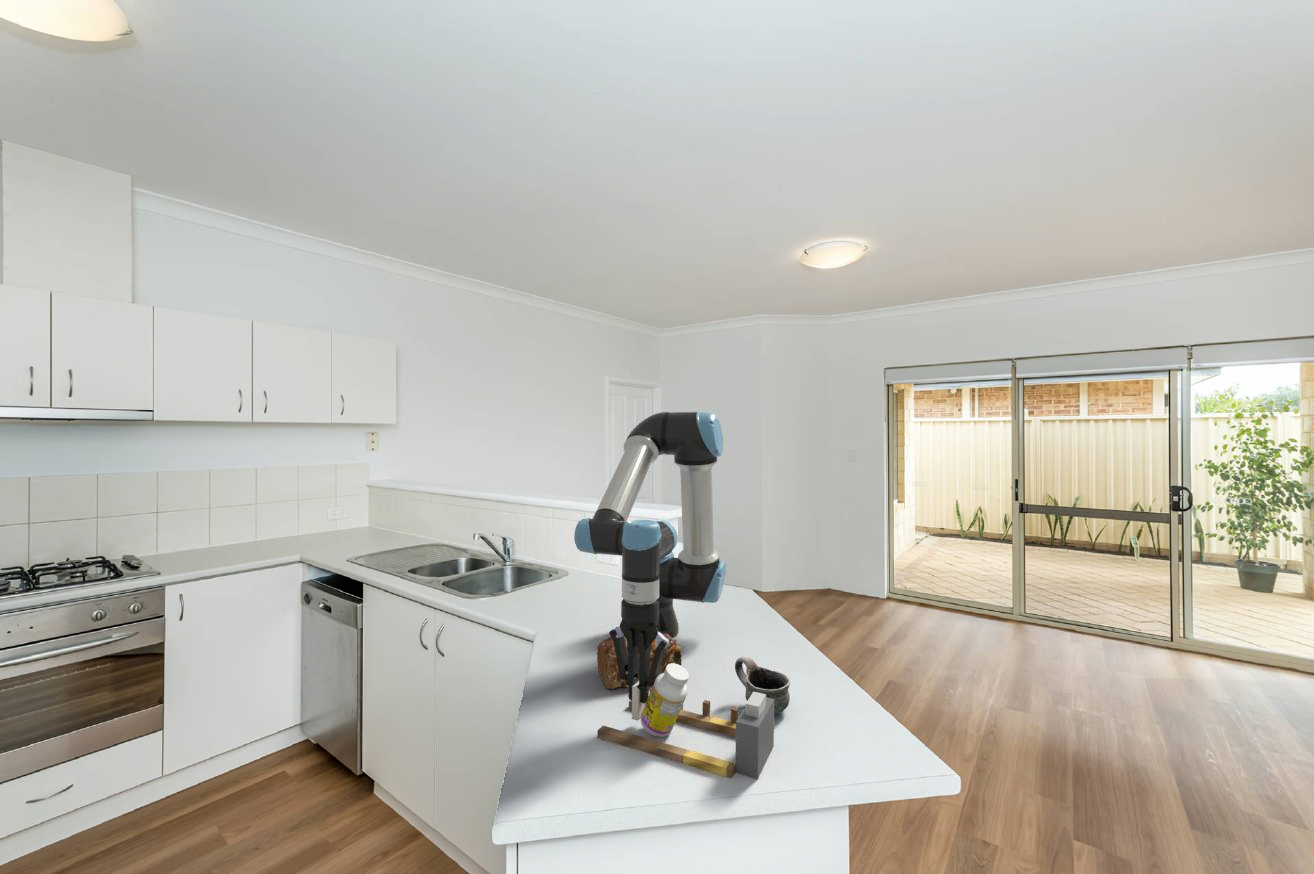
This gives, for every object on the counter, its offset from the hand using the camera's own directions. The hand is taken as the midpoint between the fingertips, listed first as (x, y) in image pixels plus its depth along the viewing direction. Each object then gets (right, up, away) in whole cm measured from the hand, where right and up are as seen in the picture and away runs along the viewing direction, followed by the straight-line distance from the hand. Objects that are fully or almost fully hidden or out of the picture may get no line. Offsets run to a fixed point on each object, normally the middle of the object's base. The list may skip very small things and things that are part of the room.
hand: (638, 716), depth 110 cm
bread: (-1, -2, +22) cm, 22 cm away
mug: (+26, -3, +8) cm, 27 cm away
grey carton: (+22, -3, -10) cm, 24 cm away
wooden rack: (+8, -2, -3) cm, 9 cm away
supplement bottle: (+3, -1, -1) cm, 4 cm away
